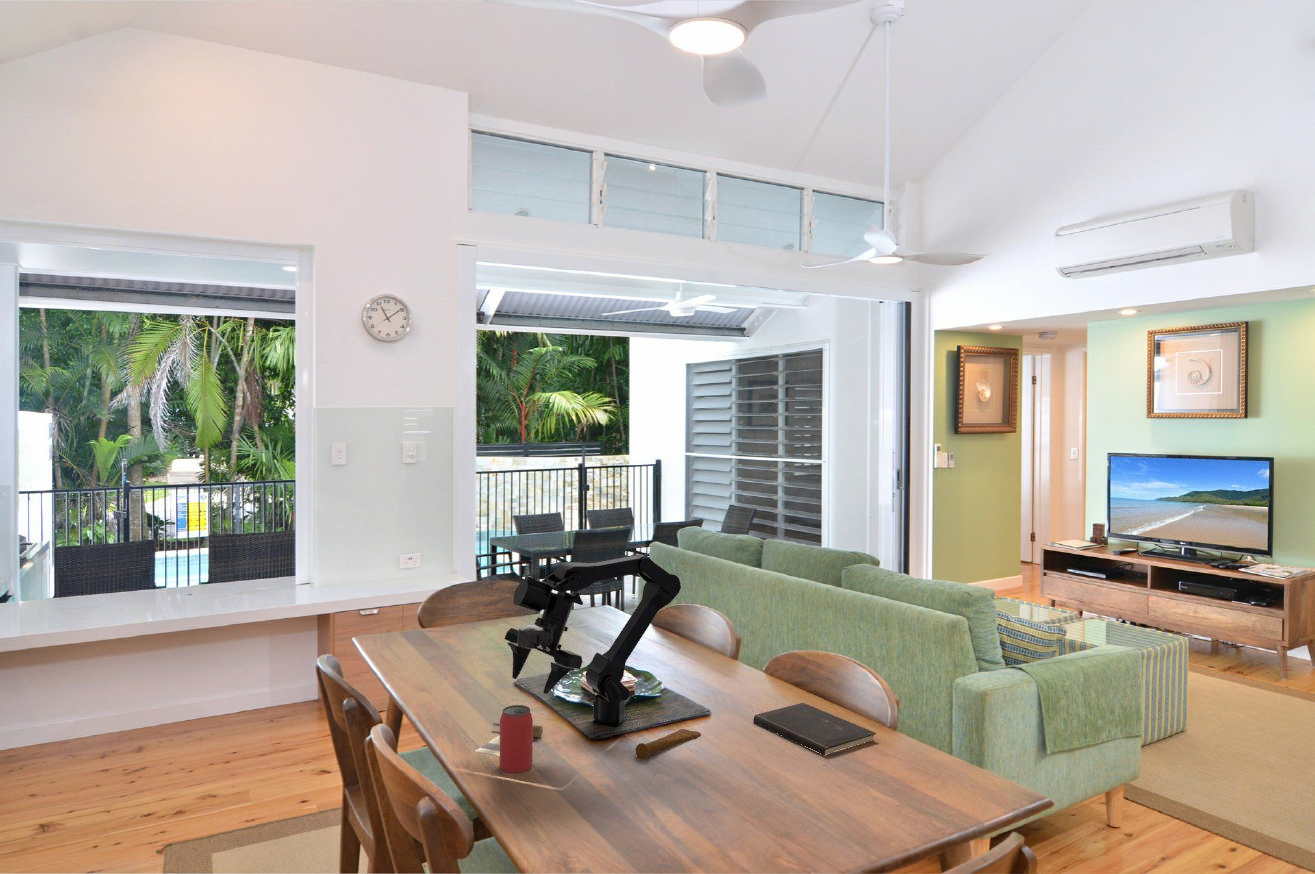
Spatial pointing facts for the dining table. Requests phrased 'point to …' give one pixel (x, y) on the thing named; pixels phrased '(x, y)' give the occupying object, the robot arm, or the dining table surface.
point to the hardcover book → (814, 728)
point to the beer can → (516, 739)
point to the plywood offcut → (491, 747)
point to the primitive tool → (665, 743)
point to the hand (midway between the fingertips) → (529, 686)
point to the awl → (536, 730)
